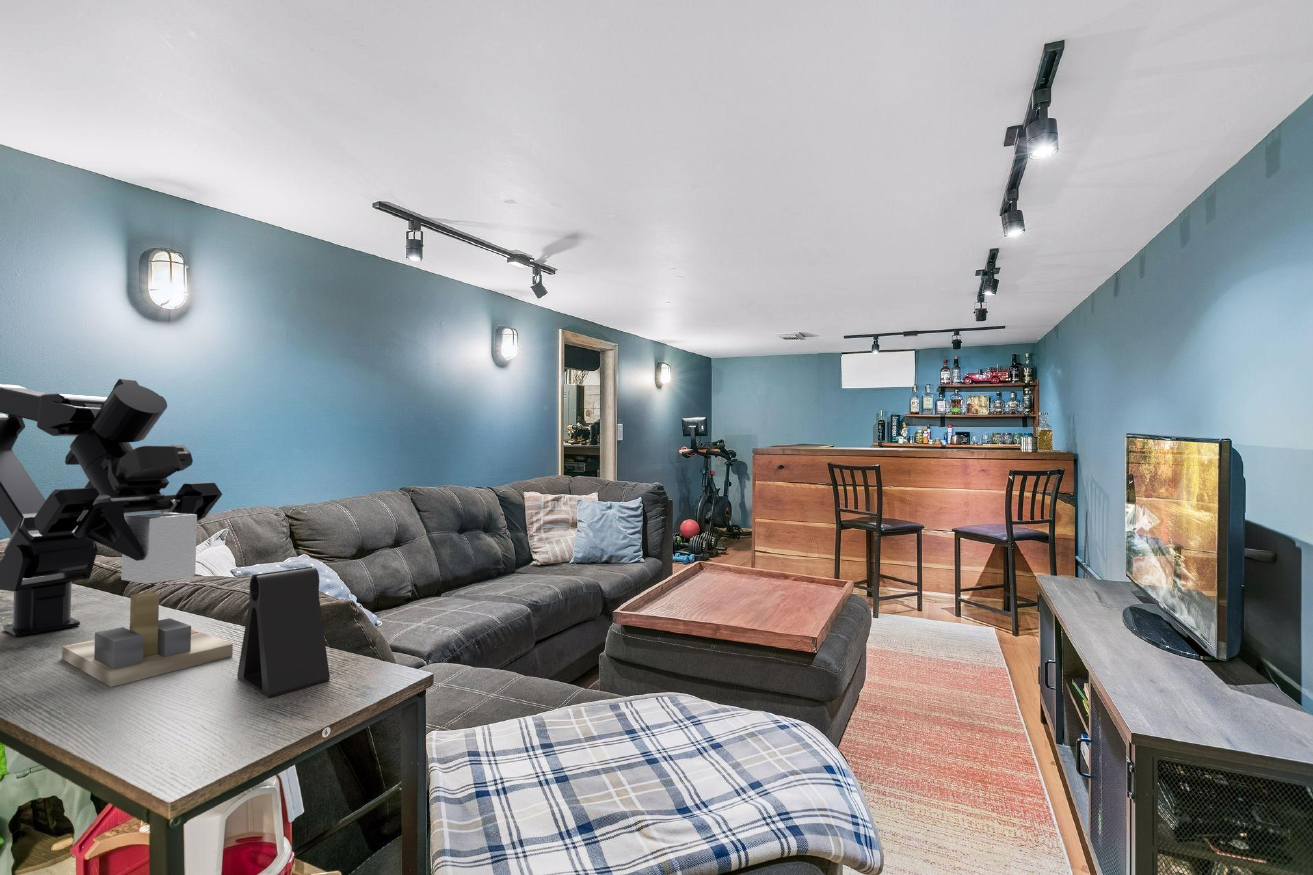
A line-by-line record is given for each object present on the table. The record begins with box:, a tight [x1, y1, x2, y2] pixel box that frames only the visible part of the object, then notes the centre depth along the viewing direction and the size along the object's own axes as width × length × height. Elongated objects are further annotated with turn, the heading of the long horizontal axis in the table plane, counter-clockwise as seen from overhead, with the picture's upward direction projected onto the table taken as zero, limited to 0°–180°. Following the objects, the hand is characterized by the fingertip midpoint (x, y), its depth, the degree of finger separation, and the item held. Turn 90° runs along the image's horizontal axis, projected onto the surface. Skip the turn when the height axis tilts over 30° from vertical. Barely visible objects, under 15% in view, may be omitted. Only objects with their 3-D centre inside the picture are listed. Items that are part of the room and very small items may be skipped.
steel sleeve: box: [120, 512, 198, 584], centre depth 77 cm, size 5×5×8 cm
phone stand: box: [236, 566, 331, 699], centre depth 67 cm, size 9×6×12 cm, turn 52°
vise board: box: [61, 591, 234, 688], centre depth 73 cm, size 16×12×8 cm
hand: (166, 554), depth 77 cm, fingers closed on steel sleeve, 5 cm apart
